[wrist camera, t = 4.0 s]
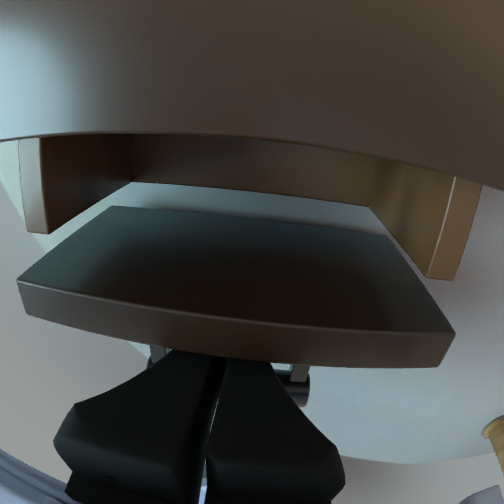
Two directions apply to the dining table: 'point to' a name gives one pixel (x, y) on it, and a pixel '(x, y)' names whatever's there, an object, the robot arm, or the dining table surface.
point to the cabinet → (265, 75)
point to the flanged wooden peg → (496, 438)
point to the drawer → (245, 253)
